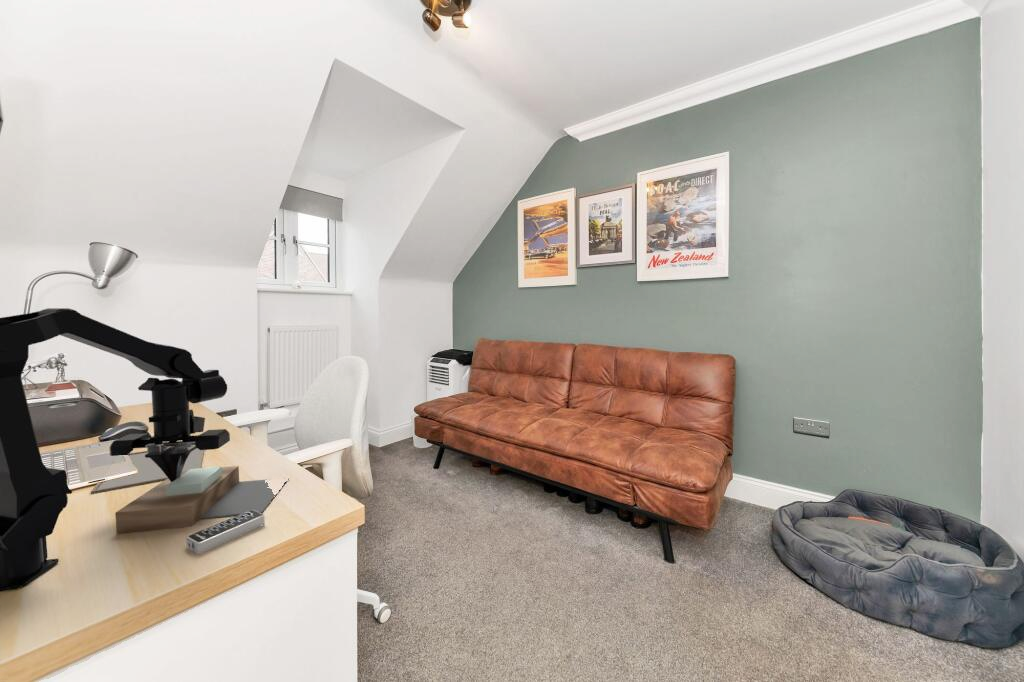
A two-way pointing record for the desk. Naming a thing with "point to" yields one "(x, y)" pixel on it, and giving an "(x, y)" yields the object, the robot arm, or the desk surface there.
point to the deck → (173, 505)
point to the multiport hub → (224, 531)
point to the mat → (242, 500)
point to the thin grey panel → (147, 471)
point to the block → (194, 481)
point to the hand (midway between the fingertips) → (175, 481)
